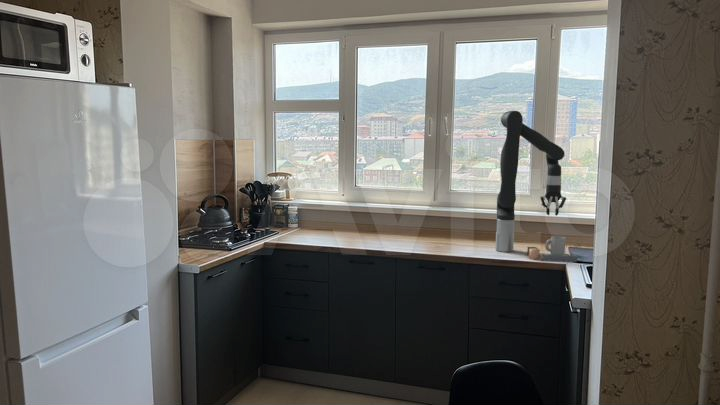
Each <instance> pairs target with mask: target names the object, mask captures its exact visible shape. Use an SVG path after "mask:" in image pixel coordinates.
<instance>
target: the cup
mask: <svg viewBox="0 0 720 405" xmlns="http://www.w3.org/2000/svg"><path fill="white" fill-rule="evenodd" d="M549 244H550V245H549ZM544 246H545V250H546V251H547V252H549V254H550V255H566V254H565V253H566V237H565V236H559V235H558V236H557V235H555V236H554V235H553V236H550V239H547V240H546V241H545V245H544ZM549 246H550V247H549Z"/></svg>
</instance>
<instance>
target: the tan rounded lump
mask: <svg viewBox="0 0 720 405" xmlns="http://www.w3.org/2000/svg"><path fill="white" fill-rule="evenodd" d="M537 248H538V247H536V248H530V249H529V255H528V259H529V260H531V259H532V261H538V259H539V260H540V252H541V251H540V248H538V249H537Z"/></svg>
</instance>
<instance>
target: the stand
mask: <svg viewBox="0 0 720 405" xmlns="http://www.w3.org/2000/svg"><path fill="white" fill-rule="evenodd" d="M541 254H542V255H541V257H542V261H543V260H550V261H549V262H566V261H567V262H569V263H570V262H572V263H577V262H578V255H577V254H572V255H569V254H568V255H567V254H564V255H552V254H550V253H549V254H548V253H544V252H542V253H541Z"/></svg>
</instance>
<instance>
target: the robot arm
mask: <svg viewBox="0 0 720 405" xmlns="http://www.w3.org/2000/svg"><path fill="white" fill-rule="evenodd" d="M523 121H524V120H523V114H522V113H521V112H520V111H518V110H508V111H505V112H504V113H503V114H502V115H501V117H500V123H501V125H502V126H503V127H504V128H506V137H505V141H504V143H503V146H502V149H501V153H500V163H499V164H500V165H499V166H500V179H501V183H500V188H499V189H500V190H499V192H498V194H497V197H496V230H495V251H496V252H504V253H509V252H511V253H512V252H514V242H515V238H514V237H515V218H516V217H515V216H516V215H515V203H516V201H517V195H516V193H517V192H516V180H517V175H518V168H519V155H520V154H519V153H520V138H523V139H524V140H526V141H527V142H528V143H530V144H531V145H532V146H534V147H535V148H536V149H538V150H539V151H541V152H543V153H545V154H546V155H545V159H546V165H547V166H546V167H547V175H546V176H547V177H546V186H545V194H544V195H543V196H540V197H539V198H540V201H541V204H542V207H544V208H545V209H546V211H545V213H546V215H547V216H550V211H551V210H550V207H551V204H552V203H554V204H555V209H554V212H555V213H554V215H555V216H558V215H559V212H560V211H559V210H560V209H561V208H563V207H564V205H565V202H566V201H567V197H565V196H562V166H561V165H560V164H559V161H561V160H563V159H564V157H565V154H566V153H565V151H564V149H563V148H562V147H561V146H559V145H557V144H556V143H554V142H553V141H551V140H549V139H548V138H547V137H546V136H544V135H543V134H542V133H540V132H539V131H536V130H535V129H532V128H531V127H529V126H527V125H526V124H525V123H523ZM545 200H547V203H546V202H545ZM560 200H561V202H560V204H559V201H560Z"/></svg>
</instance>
